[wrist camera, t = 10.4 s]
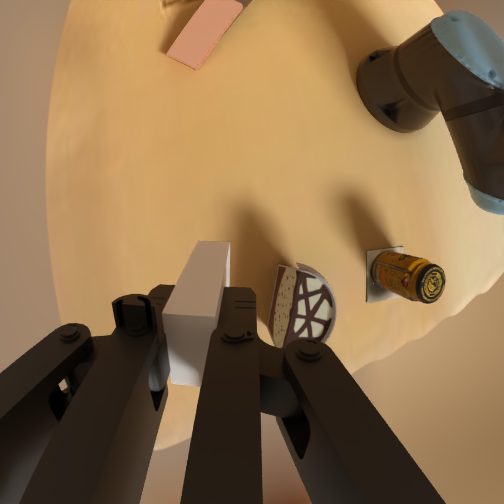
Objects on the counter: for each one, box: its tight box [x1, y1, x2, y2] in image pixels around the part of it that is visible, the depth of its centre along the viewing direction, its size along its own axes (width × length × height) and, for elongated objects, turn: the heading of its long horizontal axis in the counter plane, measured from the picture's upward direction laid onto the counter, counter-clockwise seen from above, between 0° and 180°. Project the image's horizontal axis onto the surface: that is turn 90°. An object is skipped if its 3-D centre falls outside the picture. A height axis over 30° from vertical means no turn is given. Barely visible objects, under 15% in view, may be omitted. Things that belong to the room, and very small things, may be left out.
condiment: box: [367, 247, 445, 304], centre depth 41 cm, size 7×8×12 cm
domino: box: [166, 0, 243, 71], centre depth 35 cm, size 2×5×12 cm
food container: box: [267, 263, 337, 349], centre depth 40 cm, size 12×6×10 cm, turn 171°
